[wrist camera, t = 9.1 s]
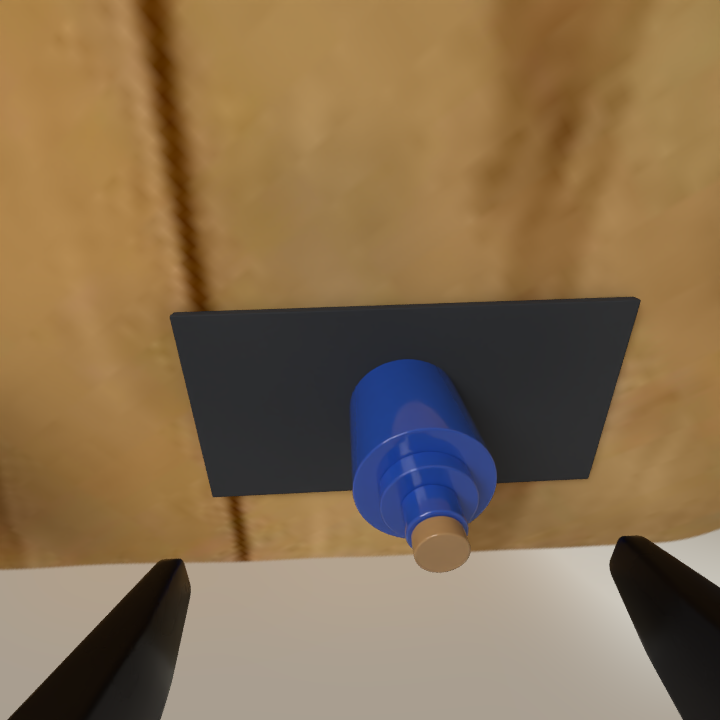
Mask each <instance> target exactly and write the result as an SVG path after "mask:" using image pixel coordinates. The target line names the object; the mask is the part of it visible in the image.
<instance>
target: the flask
mask: <svg viewBox="0 0 720 720" xmlns="http://www.w3.org/2000/svg"><path fill="white" fill-rule="evenodd" d="M349 421H350V445H351V469H352V491H353V498H354V502H355V505H356V507H357V509H358V511H359V512H360V514H361V515H362V516H363V518H364V519H365V520H366V521H367V522H368V523H369V524H371V525H372V526H373V527H375V528H376V529H378V530H380V531H382V532H384V533H386V534H389V535H392V536H396V537H400V538H406V541H407V543H408V544H409V546H410V547H411V548H412V549H413V554H414V558H415V561H416V562H417V564H418V565H419V566H420V567H421V568H423V569H424V570H427V571H430V572H436V573H438V572H439V573H441V572H448V571H451V570H454V569H456V568H458V567H460V566H461V565H463V564H464V563H465V562H466V561H467V559H468V558H469V555H470V551H471V548H470V544H469V541H468V538H467V535H468V529H469V527H468V524H469V523H470V522H472V521H473V520H474V519H475V518H477V517H478V516H479V515H480V514H481V513H482V512H483V511H484V509H485V508H486V507H487V506H488V504H489V502H490V501H491V499H492V497H493V494H494V492H495V488H496V483H497V470H496V466H495V462H494V460H493V458H492V456H491V454H490V452H489V450H488V448H487V446H486V444H485V442H484V440H483V438H482V436H481V435H480V433H479V431H478V429H477V427H476V425H475V423H474V421H473V419H472V417H471V415H470V413H469V412H468V410H467V408H466V406H465V404H464V402H463V400H462V398H461V396H460V394H459V392H458V390H457V389H456V387H455V385H454V383H453V381H452V380H451V378H450V377H449V376H448V375H447V374H446V373H445V372H444V371H443V370H441V369H440V368H438V367H437V366H435V365H433V364H430V363H428V362H424V361H421V360H414V359H403V360H395V361H391V362H388V363H385V364H382V365H380V366H378V367H376V368H375V369H373V370H372V371H370V372H369V373H368V374H366V375H365V376H364V377H363V378H362V379H361V380H360V382H359V383H358V384H357V386H356V387H355V389H354V391H353V393H352V396H351V399H350V404H349Z"/></svg>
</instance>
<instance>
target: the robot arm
mask: <svg viewBox="0 0 720 720" xmlns="http://www.w3.org/2000/svg"><path fill="white" fill-rule="evenodd" d="M609 565H610V571H611V575H612V577H613V580H614V582H615V584H616V586H617V588H618V591H619V593H620V595H621V598H622V600H623V602H624V604H625V606H626V609H627V611H628V613H629V615H630V618H631V620H632V622H633V624H634V627H635V629H636V631H637V633H638V636H639V638H640V640H641V642H642V644H643V646H644V649H645V651H646V653H647V655H648V657H649V658H650V660H651V662H652V664H653V666H654V668H655V669H656V672H657V673H658V675H659V677H660V679H661V680H662V683H663V684H664V686H665V687H666V690H667V692H668V693H669V695H670V697H671V699H672V701H673V702H674V704H675V706H676V708H677V710H678V712H679V713H680V715H681V717H682V719H683V720H720V587H718V586H717V585H715V584H714V583H712V582H711V581H709V580H708V579H706V578H705V577H703V576H702V575H700V574H699V573H697V572H695V571H694V570H693V569H691V568H690V567H688V566H687V565H685V564H684V563H682V562H681V561H679V560H678V559H676V558H675V557H673V556H672V555H670V554H669V553H667V552H666V551H664V550H662V549H661V548H660V547H658V546H657V545H655V544H654V543H652V542H651V541H649V540H648V539H646V538H644V537H642V536H637V535H636V536H622V537H620V538H619V539H618V541H617V544H616V546H615V549H614V552H613V554H612V557H611V560H610V564H609ZM190 593H191V586H190V582H189V578H188V575H187V571H186V568H185V564H184V562H183V560H181V559H164V560H161V561H159V562H158V563H157V564H156V565H155V566H154V567H153V568H152V569H151V570H150V571H149V572H148V573H147V574H146V575H145V576H144V577H143V578H142V579H141V580H140V581H139V583H138V584H137V585H136V586H135V587H134V588H133V589H132V590H131V591H130V592H129V593H128V594H127V595H126V596H125V597H124V598H123V599H122V600H121V601H120V602H119V603H118V604H117V606H116V607H115V608H114V609H113V610H112V611H111V612H110V613H109V614H108V615H107V616H106V617H105V618H104V619H103V620H102V621H101V622H100V623H99V625H97V626H96V628H94V630H93V631H92V632H91V633H90V634H89V635H88V636H87V637H86V638H85V639H84V640H83V641H82V642H81V643H80V644H79V645H78V646H77V647H76V648H75V649H74V651H73V652H72V653H71V654H70V655H69V656H68V657H67V658H66V659H65V660H64V661H63V662H62V663H61V664H60V665H59V666H58V667H57V668H56V669H55V670H54V672H52V674H51V675H50V676H49V677H48V678H47V679H46V680H45V681H44V682H43V683H42V684H41V685H40V686H39V687H38V688H37V689H36V690H35V692H33V693H32V695H31V696H30V697H29V698H28V699H27V700H26V701H25V702H24V703H23V704H22V705H21V706H20V707H19V708H18V709H17V710H16V711H15V712H14V713H13V714H12V716H10V718H9V719H8V720H160V719H161V716H162V712H163V709H164V706H165V703H166V700H167V696H168V693H169V690H170V686H171V682H172V678H173V674H174V669H175V665H176V660H177V655H178V651H179V646H180V641H181V637H182V632H183V627H184V623H185V618H186V614H187V609H188V604H189V599H190Z"/></svg>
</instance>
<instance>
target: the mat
mask: <svg viewBox="0 0 720 720" xmlns="http://www.w3.org/2000/svg"><path fill="white" fill-rule="evenodd" d="M640 301H641V300H640V299H637V298H635V297H614V298H585V299H555V300H526V301H497V302H468V303H438V304H409V305H380V306H350V307H321V308H292V309H262V310H233V311H204V312H175V313H173V314H172V315H170V320H171V324H172V329H173V333H174V337H175V341H176V345H177V350H178V354H179V358H180V362H181V366H182V370H183V375H184V379H185V383H186V387H187V391H188V395H189V400H190V404H191V408H192V412H193V416H194V421H195V425H196V429H197V433H198V437H199V441H200V446H201V450H202V454H203V458H204V462H205V466H206V471H207V475H208V479H209V483H210V487H211V492H212V496H213V497H227V496H247V495H267V494H287V493H307V492H328V491H348V490H352V469H351V445H350V421H349V404H350V399H351V396H352V393H353V391H354V389H355V387H356V386H357V384H358V383H359V382H360V380H361V379H362V378H363V377H364V376H365V375H366V374H368V373H369V372H370V371H372V370H373V369H375V368H376V367H378V366H380V365H382V364H385V363H388V362H391V361H395V360H403V359H414V360H421V361H424V362H428V363H430V364H433V365H435V366H437V367H438V368H440V369H441V370H443V371H444V372H445V373H446V374H447V375H448V376H449V377H450V378H451V380H452V381H453V383H454V385H455V387H456V389H457V390H458V392H459V394H460V396H461V398H462V400H463V402H464V404H465V406H466V408H467V410H468V412H469V413H470V415H471V417H472V419H473V421H474V423H475V425H476V427H477V429H478V431H479V433H480V435H481V436H482V438H483V440H484V442H485V444H486V446H487V448H488V450H489V452H490V454H491V456H492V458H493V460H494V462H495V466H496V470H497V483H509V482H530V481H550V480H570V479H588V477H589V474H590V471H591V467H592V464H593V460H594V457H595V454H596V450H597V447H598V444H599V440H600V437H601V433H602V430H603V427H604V423H605V420H606V417H607V413H608V410H609V406H610V403H611V400H612V396H613V393H614V389H615V386H616V383H617V379H618V376H619V373H620V369H621V366H622V362H623V359H624V356H625V352H626V349H627V345H628V342H629V339H630V335H631V332H632V329H633V325H634V322H635V318H636V315H637V312H638V308H639V305H640Z"/></svg>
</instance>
